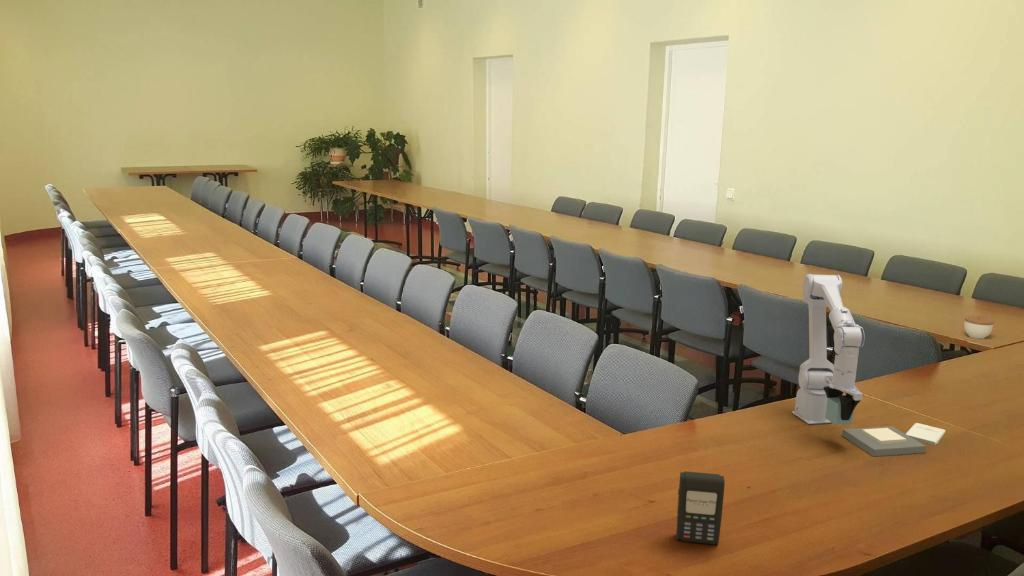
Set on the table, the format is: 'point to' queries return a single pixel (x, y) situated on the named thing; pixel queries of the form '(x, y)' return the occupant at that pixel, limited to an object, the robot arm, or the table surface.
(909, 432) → the external hard drive
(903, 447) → the base board
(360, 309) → the table surface
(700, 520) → the card reader
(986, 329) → the lidded jar
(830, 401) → the block
